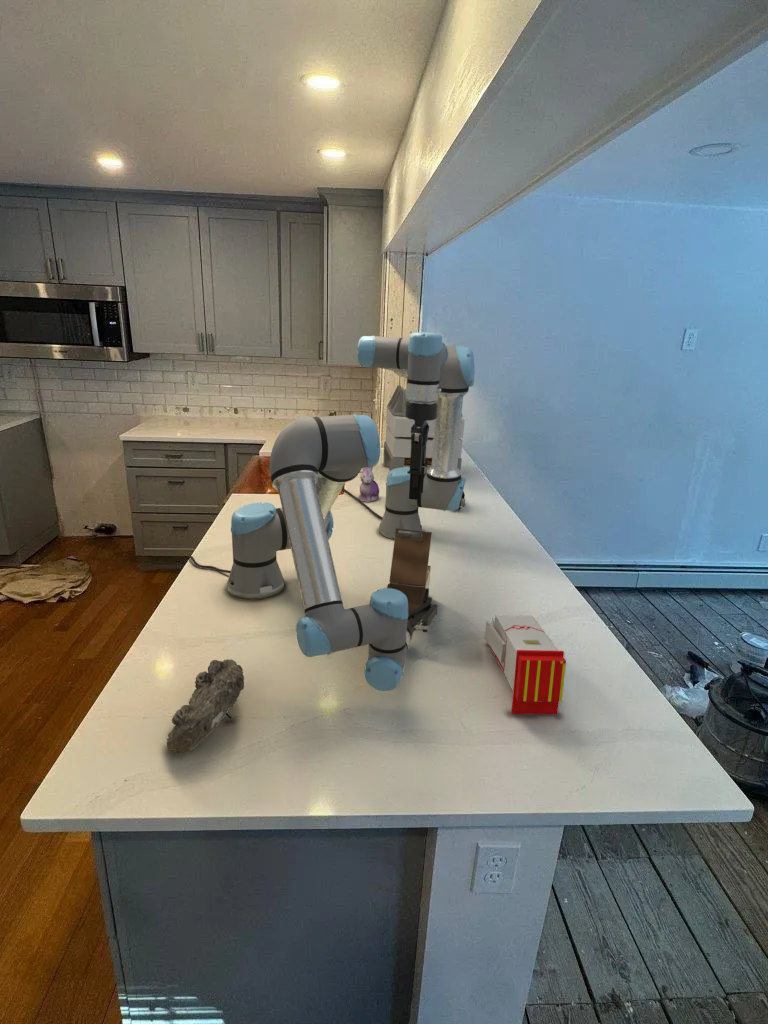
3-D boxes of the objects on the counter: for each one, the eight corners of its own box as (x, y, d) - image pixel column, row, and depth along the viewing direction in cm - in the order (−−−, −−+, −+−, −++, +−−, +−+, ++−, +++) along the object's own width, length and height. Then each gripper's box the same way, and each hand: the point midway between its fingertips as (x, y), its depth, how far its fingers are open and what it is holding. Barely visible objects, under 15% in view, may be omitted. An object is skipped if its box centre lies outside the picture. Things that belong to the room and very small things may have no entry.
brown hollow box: (395, 592, 158) (397, 561, 155) (428, 596, 157) (430, 565, 154) (387, 616, 146) (389, 583, 143) (422, 620, 145) (425, 588, 141)
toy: (530, 600, 137) (574, 657, 108) (525, 651, 140) (567, 720, 111) (480, 599, 137) (511, 656, 107) (477, 651, 139) (506, 719, 110)
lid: (396, 528, 145) (392, 523, 137) (431, 532, 144) (429, 527, 135) (389, 581, 143) (385, 579, 135) (425, 586, 142) (423, 584, 133)
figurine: (363, 503, 228) (365, 467, 223) (353, 496, 237) (354, 461, 232) (384, 501, 233) (386, 465, 227) (373, 493, 241) (374, 459, 236)
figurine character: (465, 515, 224) (460, 499, 237) (467, 498, 221) (462, 483, 234) (448, 515, 224) (444, 499, 237) (450, 498, 220) (445, 482, 234)
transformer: (382, 463, 289) (386, 382, 275) (445, 464, 293) (451, 384, 279) (390, 482, 257) (394, 392, 243) (460, 483, 261) (468, 394, 247)
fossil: (192, 660, 117) (244, 628, 112) (224, 691, 120) (276, 661, 115) (142, 746, 98) (202, 712, 93) (182, 779, 101) (242, 748, 96)
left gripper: (345, 645, 128) (366, 598, 149) (442, 658, 125) (449, 609, 146) (346, 616, 126) (367, 572, 147) (444, 628, 122) (451, 582, 143)
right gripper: (434, 409, 124) (427, 509, 132) (441, 396, 141) (434, 486, 149) (400, 406, 125) (395, 505, 133) (411, 394, 142) (406, 483, 150)
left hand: (408, 590), depth 146 cm, fingers closed on brown hollow box, 9 cm apart
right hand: (416, 495), depth 141 cm, fingers open, 5 cm apart
